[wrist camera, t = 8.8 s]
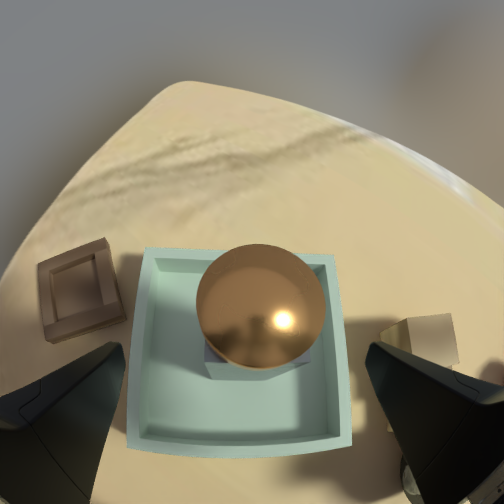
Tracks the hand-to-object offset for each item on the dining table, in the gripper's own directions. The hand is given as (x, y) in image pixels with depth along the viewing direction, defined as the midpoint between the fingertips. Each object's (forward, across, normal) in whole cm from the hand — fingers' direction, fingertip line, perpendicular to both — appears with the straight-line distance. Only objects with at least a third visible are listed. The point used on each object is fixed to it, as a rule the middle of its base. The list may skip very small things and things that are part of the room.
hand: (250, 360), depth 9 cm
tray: (+8, 0, +6) cm, 10 cm away
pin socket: (+11, +13, +3) cm, 17 cm away
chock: (+6, -14, +8) cm, 18 cm away
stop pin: (+8, 0, +6) cm, 10 cm away
